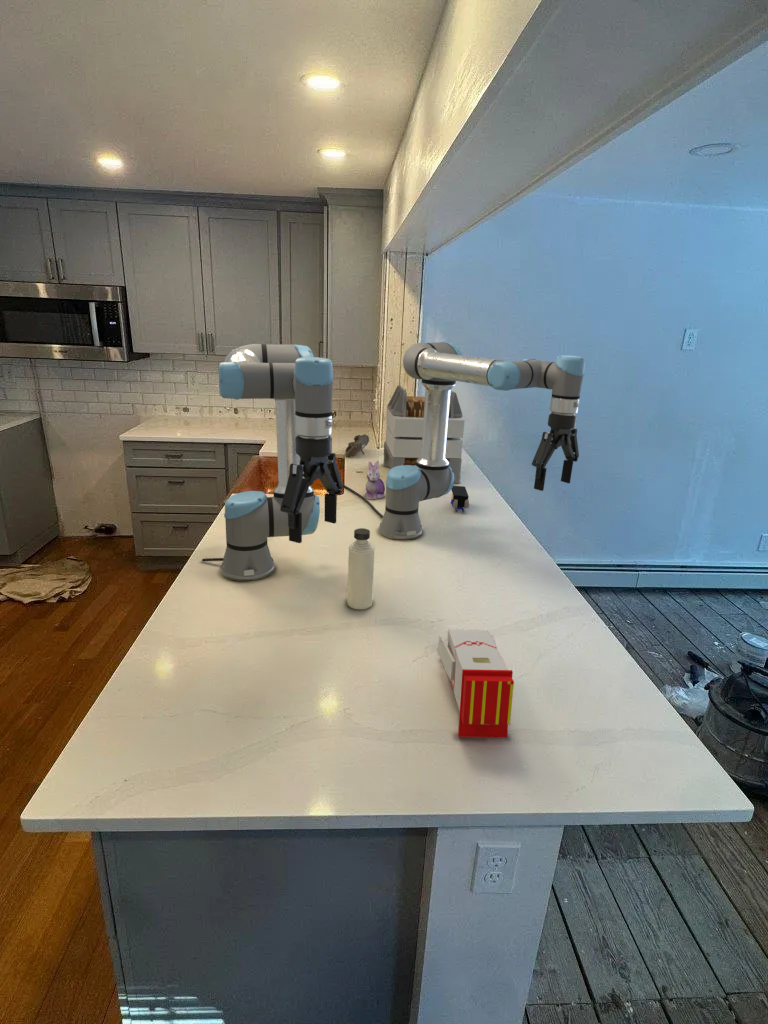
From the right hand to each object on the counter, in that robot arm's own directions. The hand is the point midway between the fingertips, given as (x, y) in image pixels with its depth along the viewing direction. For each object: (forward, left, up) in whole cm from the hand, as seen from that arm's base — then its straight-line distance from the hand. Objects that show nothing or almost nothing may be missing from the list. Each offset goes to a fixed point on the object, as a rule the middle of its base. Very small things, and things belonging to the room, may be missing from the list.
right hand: (552, 485), depth 166 cm
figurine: (-85, +5, -28) cm, 90 cm away
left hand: (-9, -77, 0) cm, 78 cm away
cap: (-18, -57, -8) cm, 60 cm away
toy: (+26, -62, -28) cm, 72 cm away
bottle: (-18, -57, -28) cm, 66 cm away
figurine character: (-55, +24, -28) cm, 66 cm away
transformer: (-101, +46, -28) cm, 115 cm away
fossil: (-147, +44, -28) cm, 156 cm away
